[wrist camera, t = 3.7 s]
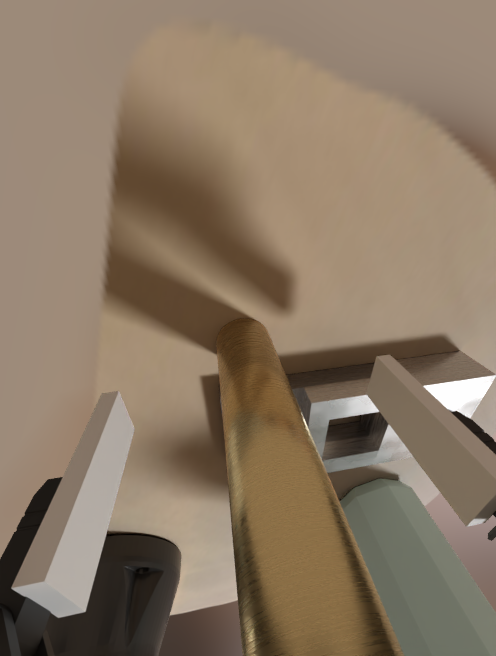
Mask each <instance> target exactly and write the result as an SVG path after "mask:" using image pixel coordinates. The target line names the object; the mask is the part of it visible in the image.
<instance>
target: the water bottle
mask: <svg viewBox="0 0 496 656" xmlns="http://www.w3.org/2000/svg"><path fill="white" fill-rule="evenodd" d="M340 504H341V507H342V509H343V511H344V514H345V516H346V518H347V521H348V523H349V526H350V528H351V530H352V533H353V535H354V537H355V540H356V542H357V544H358V547H359V549H360V552H361V554H362V556H363V559H364V561H365V563H366V566H367V568H368V571H369V573H370V575H371V578H372V580H373V582H374V585H375V587H376V589H377V592H378V594H379V597H380V599H381V601H382V604H383V606H384V608H385V611H386V613H387V616H388V618H389V620H390V623H391V625H392V627H393V630H394V632H395V634H396V637H397V639H398V642H399V644H400V646H401V649H402V651H403V653H404V656H496V612H495V611H494V610H493V608H492V606H491V605H490V603H489V602H488V601H487V599H486V598H485V596H484V595H483V593H482V592H481V590H480V589H479V587H478V586H477V584H476V583H475V581H474V580H473V578H472V577H471V575H470V574H469V572H468V571H467V569H466V568H465V566H464V565H463V563H462V562H461V560H460V559H459V557H458V556H457V554H456V553H455V551H454V550H453V549H452V547H451V546H450V544H449V543H448V541H447V540H446V538H445V537H444V535H443V534H442V532H441V531H440V529H439V528H438V526H437V525H436V523H435V522H434V520H433V519H432V518H431V516H430V514H429V513H428V512H427V510H426V508H425V507H424V505H423V504H422V502H421V501H420V499H419V498H418V497H417V495H416V494H415V492H414V491H413V489H412V488H411V487H409V486H407V485H406V484H404V483H402V482H400V481H398V480H389V479H380V478H379V479H377V480H374V481H371V482H368V483H366V484H363V485H360V486H357V487H355V488H353V489H352V490H351V491H350V492H349V493H348V494H347V495H346V496H345V497H344V498H343V499H342V500H341V501H340Z"/></svg>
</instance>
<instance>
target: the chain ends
mask: <svg viewBox="0 0 496 656" xmlns="http://www.w3.org/2000/svg"><path fill="white" fill-rule="evenodd" d="M396 361H397V362H398V363H399V364H400V365H402V366H403V367H404V368H405V369H406V370H407V371H408V372H409V373H410V374H411V375H412V376H413V377H414V378H415V379H416V380H417V381H418V382H419V383H421V384H422V385H423V386H424V387H425V388H426V389H427V390H428V391H429V392H430V393H431V394H432V395H433V396H434V397H435V398H436V399H437V400H438V401H440V402H441V403H442V404H443V405H444V406H445V407H446V408H447V409H448V410H449V411H450V412H452V411H458V412H460V413H462V414H463V415H465V416H467V417H468V418H471V416H472V414H473V413H474V411H475V410H476V408H477V406H478V405H479V403H480V401H481V400H482V398H483V396H484V395H485V393H486V392H487V390H488V388H489V387H490V385H491V383H492V382H493V380H494V379H495V377H496V374H494V373H493V372H491V371H490V370H488V369H487V368H485V367H484V366H482V365H481V364H479V363H478V362H476V361H475V360H473V359H472V358H470V357H469V356H468V355H466V354H465V353H463V352H462V351H457V352H450V353H443V354H436V355H428V356H421V357H414V358H407V359H399V360H396ZM374 364H375V363H370V364H363V365H356V366H349V367H341V368H334V369H327V370H320V371H312V372H305V373H298V374H291V375H286V376H287V379H288V381H289V383H290V386H291V388H292V391H293V393H294V395H295V398H296V400H297V402H298V405H299V407H300V409H301V412H302V414H303V417H304V419H305V421H306V424H307V426H308V428H309V431H310V433H311V436H312V438H313V440H314V443H315V445H316V447H317V450H318V452H319V454H320V457H321V459H322V462H323V464H324V466H325V469H326V471H327V473H330V472H336V471H341V470H346V469H352V468H357V467H363V466H368V465H373V464H379V463H384V462H390V461H395V460H400V459H406V458H411V457H413V455H412V454H411V453H410V451H409V450H408V449H407V447H406V446H405V445H404V443H403V442H402V441H401V439H400V438H399V437H398V435H397V434H396V433H395V432H394V430H393V429H392V428H391V426H390V425H389V424H388V422H387V421H386V420H385V418H384V417H383V416H382V414H381V413H380V412H379V410H378V409H377V408H376V406H375V405H374V404H373V402H372V401H371V400H370V398H369V397H368V396H367V394H366V393H367V389H368V385H369V382H370V378H371V374H372V371H373V367H374ZM219 393H220V403H221V392H220V384H219ZM221 410H222V404H221ZM357 415H361V419H360V421H359V422H353V423H346V424H340V425H334V426H328V424H329V420H332V419H338V418H344V417H350V416H357ZM222 418H223V416H222Z"/></svg>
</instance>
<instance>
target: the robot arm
mask: <svg viewBox="0 0 496 656" xmlns="http://www.w3.org/2000/svg"><path fill="white" fill-rule="evenodd" d="M366 394H367V396H368V397H369V398H370V400H371V401H372V402H373V404H374V405H375V406H376V408H377V409H378V410H379V412H380V413H381V414H382V416H383V417H384V418H385V420H386V421H387V422H388V424H389V425H390V426H391V428H392V429H393V430H394V432H395V433H396V434H397V435H398V437H399V438H400V439H401V441H402V442H403V443H404V445H405V446H406V447H407V449H408V450H409V451H410V453H411V454H412V455H413V457H414V458H415V459H416V461H417V462H418V463H419V465H420V466H421V467H422V469H423V470H424V471H425V473H426V474H427V475H428V477H429V478H430V479H431V481H432V482H433V483H434V485H435V486H436V487H437V488H438V490H439V491H440V492H441V494H442V495H443V496H444V498H445V499H446V500H447V501H448V503H449V504H450V506H451V507H452V508H453V509H454V511H455V512H456V514H457V515H458V516H459V518H460V519H461V520H462V522H463V523H464V524H465V526H467V527H468V526H472V525H476V524H481V523H485V522H486V521H487V520H488V519H489V518H490V517H491V516H492V515H494V516H495V517H496V442H495V441H494V439H493V438H492V437H490V436H489V435H488V434H487V433H485V432H484V430H483V429H482V428H480V427H479V426H478V425H477V424H476V423H475V422H474V421H473V420H472V419H470V418H468V417H467V416H465V415H463V414H462V413H460V412H458V411H452V412H450V411H449V410H448V409H447V408H446V407H445V406H444V405H443V404H442V403H441V402H440V401H438V400H437V399H436V398H435V397H434V396H433V395H432V394H431V393H430V392H429V391H428V390H427V389H426V388H425V387H424V386H423V385H422V384H421V383H419V382H418V381H417V380H416V379H415V378H414V377H413V376H412V375H411V374H410V373H409V372H408V371H407V370H406V369H405V368H404V367H403V366H402V365H400V364H399V363H398V362H397V361H396V360H395V359H394V358H393V357H392V356H391V355H383V356H376V360H375V364H374V367H373V371H372V374H371V378H370V382H369V385H368V389H367V393H366ZM134 430H135V428H134V426H133V424H132V421H131V419H130V417H129V414H128V412H127V409H126V407H125V405H124V402H123V400H122V397H121V395H120V393H119V391H116V392H109V393H102V394H101V396H100V398H99V401H98V403H97V405H96V407H95V409H94V411H93V413H92V416H91V418H90V420H89V422H88V424H87V426H86V429H85V431H84V433H83V435H82V437H81V439H80V441H79V444H78V446H77V448H76V450H75V452H74V454H73V457H72V458H71V461H70V463H69V465H68V467H67V469H66V471H65V474H64V476H63V477H60V478H54V479H48V480H47V481H46V482H45V483H44V485H43V486H42V487H41V488H40V489H39V490H38V491H37V493H36V494H35V495H34V496H33V499H32V500H31V502H30V504H29V506H28V508H27V510H26V512H25V516H24V517H22V519H21V521H20V523H19V525H18V527H17V531H16V532H14V534H13V536H12V538H11V540H10V542H9V544H8V545H7V548H6V549H5V551H4V553H3V555H2V557H1V559H0V656H158V654H159V649H160V646H161V643H162V639H163V636H164V632H165V629H166V625H167V622H168V618H169V615H170V612H171V608H172V605H173V601H174V598H175V594H176V591H177V587H178V584H179V580H180V569H181V552H180V550H179V549H178V548H177V547H176V546H175V545H173V544H172V543H170V542H168V541H165V540H162V539H159V538H154V537H148V536H139V535H117V536H106V534H107V530H108V526H109V523H110V519H111V515H112V511H113V508H114V504H115V500H116V497H117V493H118V489H119V485H120V482H121V478H122V474H123V471H124V467H125V463H126V459H127V456H128V452H129V448H130V445H131V441H132V437H133V433H134ZM495 537H496V526H495V527H494V528H493V529H492V530H491V531H490V532H489V533H488V539H489V540H491V541H492V540H493V539H494V538H495Z"/></svg>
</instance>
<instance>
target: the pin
mask: <svg viewBox="0 0 496 656" xmlns="http://www.w3.org/2000/svg"><path fill="white" fill-rule="evenodd" d="M216 344H217V357H218V368H219V380H220V392H221V404H222V416H223V428H224V440H225V452H226V464H227V475H228V487H229V499H230V511H231V523H232V535H233V547H234V559H235V570H236V582H237V594H238V606H239V616H240V617H239V618H240V630H241V641H242V654H243V656H404V653H403V651H402V649H401V646H400V644H399V642H398V639H397V637H396V634H395V632H394V630H393V627H392V625H391V623H390V620H389V618H388V616H387V613H386V611H385V608H384V606H383V604H382V601H381V599H380V597H379V594H378V592H377V589H376V587H375V585H374V582H373V580H372V578H371V575H370V573H369V571H368V568H367V566H366V563H365V561H364V559H363V556H362V554H361V552H360V549H359V547H358V544H357V542H356V540H355V537H354V535H353V533H352V530H351V528H350V526H349V523H348V521H347V518H346V516H345V514H344V511H343V509H342V507H341V504H340V502H339V499H338V497H337V495H336V492H335V490H334V488H333V485H332V483H331V481H330V478H329V476H328V473H327V471H326V469H325V466H324V464H323V462H322V459H321V457H320V454H319V452H318V450H317V447H316V445H315V443H314V440H313V438H312V436H311V433H310V431H309V428H308V426H307V424H306V421H305V419H304V417H303V414H302V412H301V409H300V407H299V405H298V402H297V400H296V398H295V395H294V393H293V391H292V388H291V386H290V383H289V381H288V379H287V376H286V374H285V372H284V369H283V367H282V364H281V362H280V360H279V357H278V355H277V353H276V350H275V348H274V346H273V343H272V341H271V338H270V336H269V334H268V331H267V329H266V328H265V327H264V326H263V325H262V324H261V323H260V322H258V321H256V320H253V319H237V320H234V321H232V322H230V323H228V324H227V325H225V326H224V327H223V328H222V329H221V331H220V332H219V334H218V336H217V341H216Z"/></svg>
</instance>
